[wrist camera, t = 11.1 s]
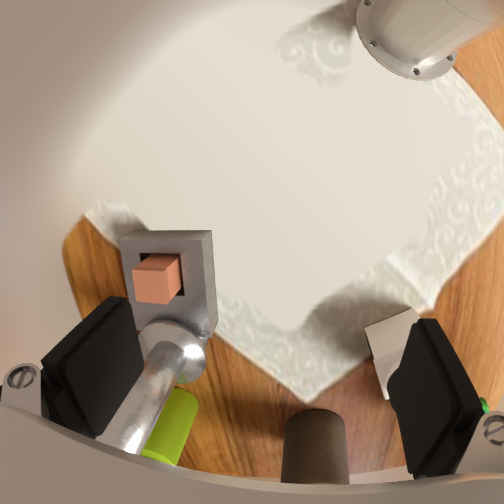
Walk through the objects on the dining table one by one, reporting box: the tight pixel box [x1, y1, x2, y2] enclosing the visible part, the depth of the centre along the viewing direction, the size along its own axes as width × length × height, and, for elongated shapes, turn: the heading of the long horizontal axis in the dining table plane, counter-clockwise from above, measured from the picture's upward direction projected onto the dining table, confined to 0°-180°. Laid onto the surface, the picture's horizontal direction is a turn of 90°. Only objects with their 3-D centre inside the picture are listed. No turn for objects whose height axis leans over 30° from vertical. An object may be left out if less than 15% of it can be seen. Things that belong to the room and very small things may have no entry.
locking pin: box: [132, 253, 184, 305], centre depth 34 cm, size 4×4×8 cm
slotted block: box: [95, 230, 218, 456], centre depth 29 cm, size 18×10×22 cm, turn 1°
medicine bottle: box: [364, 308, 420, 411], centre depth 31 cm, size 7×7×12 cm
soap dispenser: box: [140, 388, 199, 466], centre depth 36 cm, size 6×7×20 cm
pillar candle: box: [280, 410, 350, 485], centre depth 36 cm, size 10×10×15 cm
